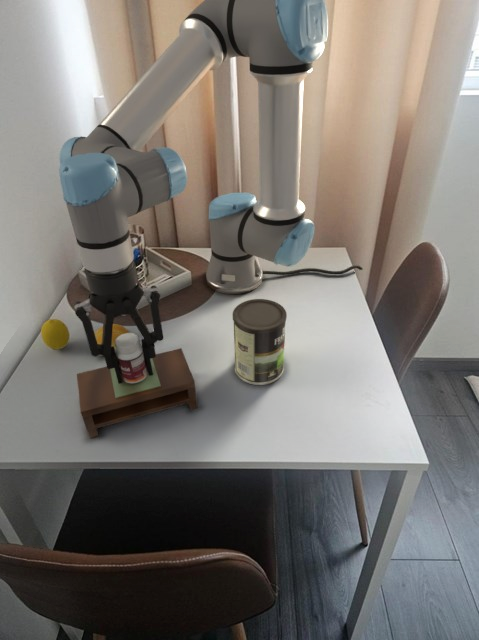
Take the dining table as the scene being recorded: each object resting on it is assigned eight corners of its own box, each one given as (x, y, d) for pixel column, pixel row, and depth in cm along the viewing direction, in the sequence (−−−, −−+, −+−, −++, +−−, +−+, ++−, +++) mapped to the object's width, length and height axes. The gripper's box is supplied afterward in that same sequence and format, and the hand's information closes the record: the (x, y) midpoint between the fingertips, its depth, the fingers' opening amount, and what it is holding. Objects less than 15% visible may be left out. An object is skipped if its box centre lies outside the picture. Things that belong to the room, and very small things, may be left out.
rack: (184, 373, 92) (181, 347, 88) (197, 407, 84) (194, 380, 80) (85, 399, 87) (76, 372, 82) (89, 438, 79) (80, 411, 75)
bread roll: (131, 330, 104) (128, 316, 102) (128, 355, 97) (124, 341, 94) (95, 333, 103) (91, 319, 101) (89, 359, 96) (85, 345, 94)
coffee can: (288, 356, 96) (291, 302, 87) (277, 389, 88) (280, 334, 79) (242, 348, 98) (241, 295, 90) (227, 379, 90) (225, 324, 82)
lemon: (65, 358, 97) (55, 329, 92) (42, 355, 98) (31, 326, 93) (77, 342, 101) (68, 313, 96) (55, 339, 102) (45, 311, 97)
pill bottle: (116, 376, 81) (107, 340, 76) (137, 362, 84) (129, 327, 79) (132, 388, 78) (123, 353, 73) (153, 374, 81) (146, 339, 76)
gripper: (162, 241, 72) (177, 350, 86) (46, 262, 67) (82, 373, 82) (172, 263, 66) (187, 375, 81) (47, 287, 62) (86, 402, 76)
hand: (134, 374), depth 81 cm, fingers closed on pill bottle, 5 cm apart
